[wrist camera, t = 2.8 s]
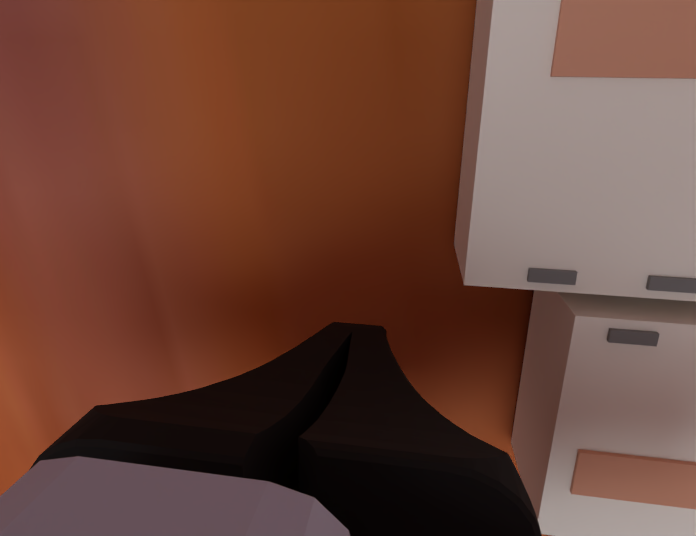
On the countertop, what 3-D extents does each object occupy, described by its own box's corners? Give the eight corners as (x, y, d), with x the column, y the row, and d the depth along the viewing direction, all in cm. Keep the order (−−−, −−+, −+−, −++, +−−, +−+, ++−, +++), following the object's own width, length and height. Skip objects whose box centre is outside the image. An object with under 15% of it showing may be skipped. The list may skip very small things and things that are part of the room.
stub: (720, 278, 11) (829, 337, 8) (669, 459, 12) (746, 565, 10) (537, 266, 11) (577, 318, 9) (511, 442, 13) (536, 537, 10)
